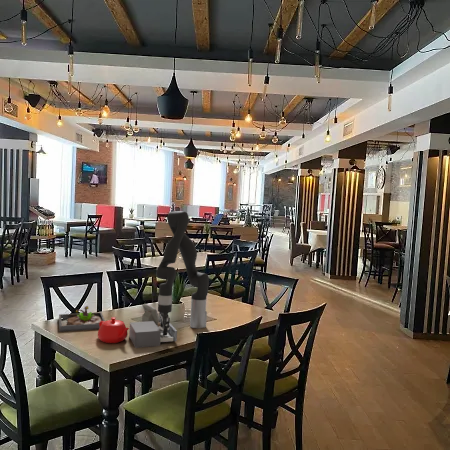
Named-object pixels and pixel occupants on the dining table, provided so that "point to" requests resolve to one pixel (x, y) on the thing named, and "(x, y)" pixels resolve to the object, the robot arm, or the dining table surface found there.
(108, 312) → the dining table surface
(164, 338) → the grey drawer box
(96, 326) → the rectangular frame
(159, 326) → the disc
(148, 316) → the grey tissue
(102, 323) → the teapot
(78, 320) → the miniature garden
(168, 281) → the robot arm
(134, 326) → the housing
